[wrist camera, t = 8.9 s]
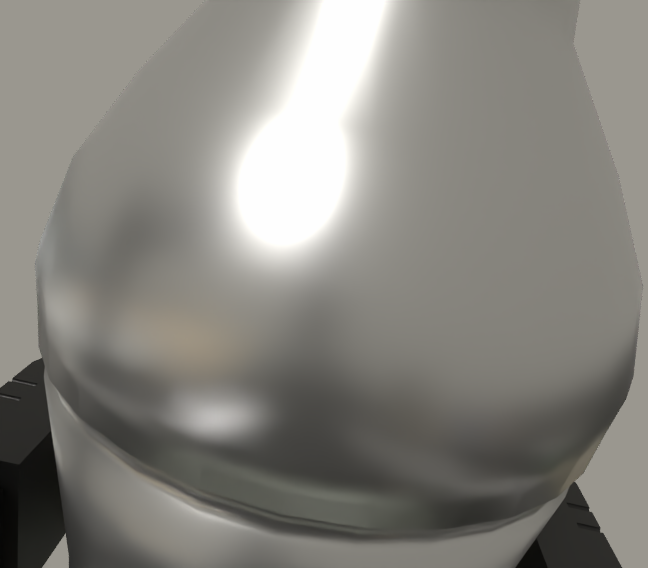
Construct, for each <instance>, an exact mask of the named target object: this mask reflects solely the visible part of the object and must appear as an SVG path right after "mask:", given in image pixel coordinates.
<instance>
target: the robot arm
mask: <svg viewBox="0 0 648 568" xmlns="http://www.w3.org/2000/svg"><path fill="white" fill-rule="evenodd" d="M44 370H45V365H44V362H43V358H41V359H39V360H36V361H34V362H32V363H31V364H30V365H28V366H27V367H26V368H25V369H23V370H22V371H21V372H20V373H18V374H17V375H16V376H15V377H13V379H12V382H7V383H6V384H5V385H4V386H2V387H1V388H0V568H42V567H43V565H44V564H45V562H46V561H47V559H48V558H49V556H50V555H51V553H52V552H53V551H54V549H55V548H56V546H57V545H58V543H59V542H60V540H61V539H62V537H63V536H64V534H65V533H66V531H65V524H64V517H63V510H62V503H61V495H60V488H59V481H58V474H57V467H56V460H55V453H54V446H53V439H52V432H51V424H50V417H49V410H48V403H47V396H46V389H45V382H44ZM515 568H622V567H621V565H620V563H619V561H618V560H617V558H616V556H615V554H614V552H613V550H612V548H611V547H610V545H609V543H608V541H607V539H606V537H605V535H604V534H603V533H600V526H599V524H598V523H597V521H596V519H595V517H594V515H593V513H592V512H589V506H588V504H587V502H586V501H585V498H584V497H583V495H582V493H581V491H580V489H579V487H578V486H577V484H576V483H575V482H573V483H572V484H571V485H570V487H569V489H568V492H567V494H566V496H565V498H564V500H563V501H562V503H561V504H560V505H559V507H558V508H557V510H556V511H555V512H554V514H553V515H552V517H551V518H550V519H549V521H548V522H547V524H546V525H545V526H544V528H543V529H542V531H541V532H540V533H539V535H538V536H537V538H536V539H535V541H534V542H533V543H532V545H531V546H530V548H529V549H528V550H527V552H526V553H525V555H524V556H523V557H522V559H521V560H520V562H519V563H518V564H517V566H516V567H515Z"/></svg>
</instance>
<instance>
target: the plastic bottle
mask: <svg viewBox="0 0 648 568" xmlns="http://www.w3.org/2000/svg"><path fill="white" fill-rule="evenodd" d="M579 4H580V0H205V1H204V2H203V3H202V4H201V5H200V6H199V7H198V8H197V9H196V10H195V11H194V12H193V14H192V15H191V16H190V17H189V18H188V19H187V20H186V21H185V22H184V23H183V24H182V25H181V26H180V27H179V28H178V29H177V30H176V31H175V32H174V34H173V35H172V36H171V37H170V38H169V39H168V40H167V41H166V42H165V43H164V44H163V45H162V46H161V47H160V48H159V49H158V50H157V51H156V52H155V54H154V55H153V56H152V57H151V58H150V59H149V60H148V61H147V62H146V63H145V64H144V65H143V66H142V67H141V68H140V69H139V71H138V72H137V73H136V75H135V76H134V77H133V79H132V80H131V81H130V82H129V84H128V85H127V86H126V88H125V89H124V90H123V92H122V93H121V94H120V95H119V97H118V98H117V99H116V101H115V102H114V103H113V105H112V106H111V107H110V109H109V110H108V111H107V113H106V114H105V115H104V117H103V118H102V119H101V121H100V122H99V123H98V125H97V126H96V127H95V129H94V130H93V131H92V132H91V134H90V135H89V137H88V138H87V139H86V140H85V142H84V143H83V144H82V146H81V147H80V148H79V150H78V151H77V152H76V154H75V155H74V156H73V158H72V161H71V163H70V166H69V168H68V171H67V173H66V176H65V178H64V181H63V183H62V186H61V189H60V191H59V194H58V197H57V199H56V201H55V204H54V206H53V209H52V212H51V214H50V217H49V219H48V222H47V224H46V227H45V229H44V232H43V235H42V237H41V240H40V243H39V248H38V252H37V257H36V261H35V271H36V286H37V303H38V337H39V338H38V339H39V349H40V352H41V355H42V358H43V362H44V365H45V370H44V382H45V389H46V396H47V403H48V410H49V417H50V424H51V432H52V439H53V446H54V453H55V460H56V467H57V474H58V481H59V488H60V495H61V503H62V510H63V517H64V524H65V531H66V538H67V545H68V552H69V568H515V567H516V566H517V564H518V563H519V562H520V560H521V559H522V557H523V556H524V555H525V553H526V552H527V550H528V549H529V548H530V546H531V545H532V543H533V542H534V541H535V539H536V538H537V536H538V535H539V533H540V532H541V531H542V529H543V528H544V526H545V525H546V524H547V522H548V521H549V519H550V518H551V517H552V515H553V514H554V512H555V511H556V510H557V508H558V507H559V505H560V504H561V503H562V501H563V500H564V498H565V496H566V494H567V492H568V489H569V487H570V485H571V484H572V483H573V482H574V481H575V480H576V479H578V478H579V477H580V475H582V474H583V473H584V471H585V469H586V468H587V466H588V464H589V462H590V460H591V458H592V457H593V455H594V453H595V451H596V450H597V448H598V446H599V444H600V442H601V440H602V439H603V437H604V435H605V433H606V432H607V430H608V428H609V427H610V425H611V423H612V422H613V420H614V418H615V417H616V415H617V413H618V412H619V410H620V408H621V407H622V405H623V403H624V402H625V400H626V398H627V395H628V392H629V389H630V385H631V382H632V379H633V375H634V366H635V357H636V347H637V337H638V328H639V317H640V309H641V299H642V290H643V284H642V280H641V275H640V271H639V266H638V262H637V257H636V253H635V248H634V244H633V239H632V234H631V230H630V225H629V221H628V216H627V212H626V208H625V203H624V199H623V194H622V189H621V185H620V180H619V176H618V173H617V170H616V167H615V164H614V161H613V158H612V155H611V153H610V150H609V147H608V144H607V141H606V138H605V135H604V132H603V129H602V126H601V123H600V120H599V118H598V115H597V112H596V109H595V106H594V103H593V100H592V97H591V94H590V91H589V88H588V85H587V82H586V80H585V76H584V74H583V71H582V68H581V65H580V62H579V59H578V56H577V53H576V50H575V47H574V44H573V42H574V35H575V29H576V23H577V17H578V10H579Z"/></svg>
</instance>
